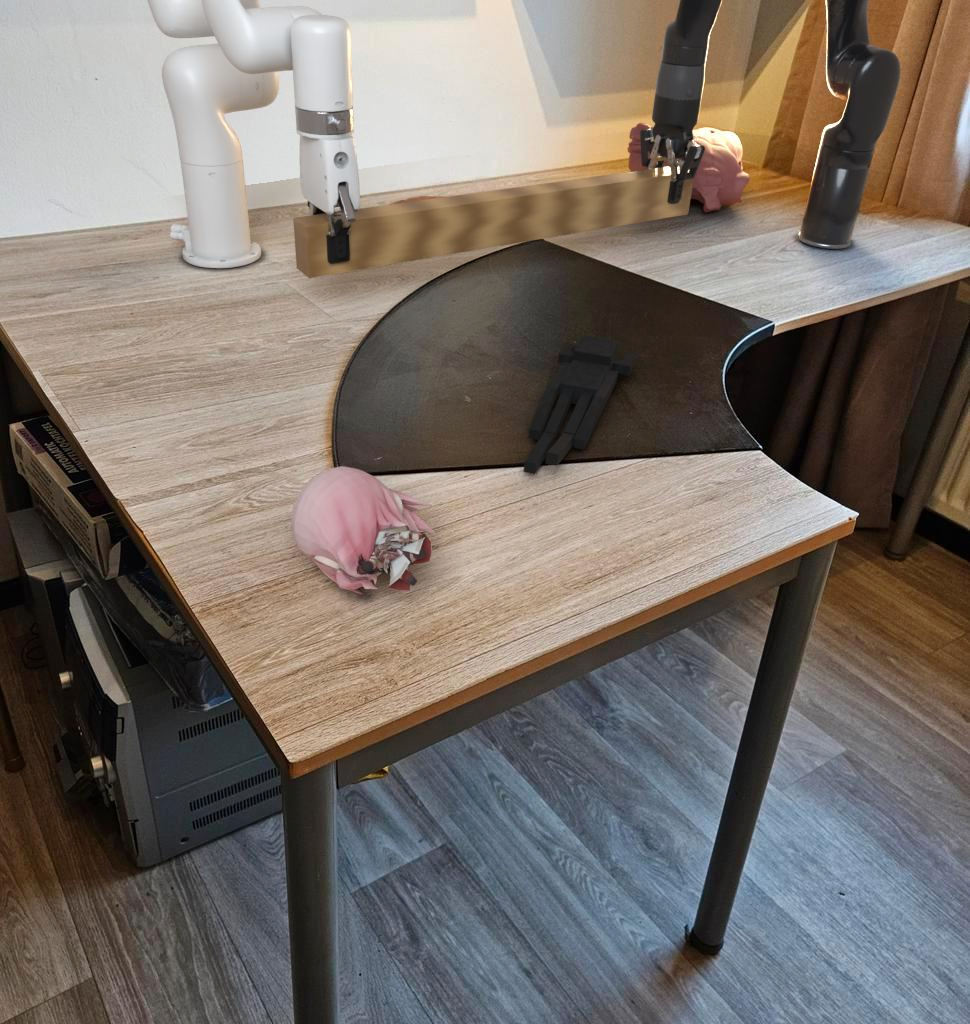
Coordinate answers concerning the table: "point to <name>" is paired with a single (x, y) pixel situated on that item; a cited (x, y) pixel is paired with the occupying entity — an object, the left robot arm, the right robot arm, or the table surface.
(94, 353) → the table surface
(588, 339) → the toy
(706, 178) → the fabric sculpture
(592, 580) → the table surface
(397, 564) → the pink rounded lump
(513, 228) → the bar
